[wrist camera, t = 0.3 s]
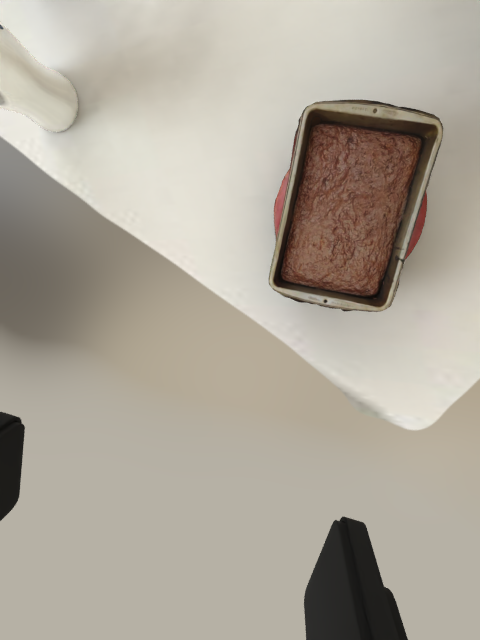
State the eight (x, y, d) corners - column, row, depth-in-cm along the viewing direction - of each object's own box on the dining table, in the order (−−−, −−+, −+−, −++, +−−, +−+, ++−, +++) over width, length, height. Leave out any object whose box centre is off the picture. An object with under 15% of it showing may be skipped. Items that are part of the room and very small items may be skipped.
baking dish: (256, 266, 40) (251, 292, 31) (302, 99, 33) (314, 68, 24) (368, 296, 40) (397, 331, 31) (438, 136, 33) (502, 120, 24)
